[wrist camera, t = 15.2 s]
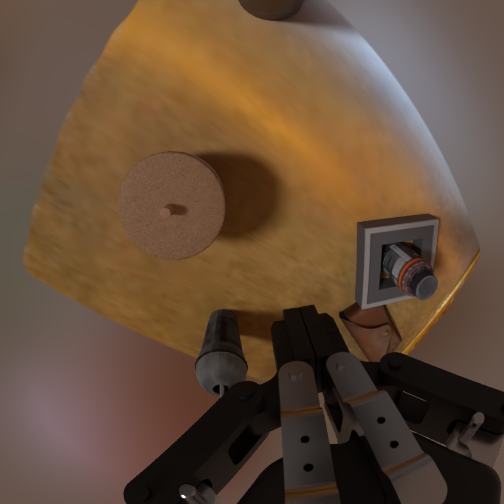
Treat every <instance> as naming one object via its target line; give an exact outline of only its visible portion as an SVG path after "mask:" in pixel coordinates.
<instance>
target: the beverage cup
mask: <svg viewBox="0 0 504 504" xmlns="http://www.w3.org/2000/svg"><path fill="white" fill-rule="evenodd" d="M195 370H196V376H197V379H198V381H199V383H200V385H201V386H202V387H203V388H204V389H205V390H206V391H207V392H209V393H211V394H213V395H216V396H220V398H221V397H222V396H223V395H224V394H225V393H226V392H227V390H228V389H229V388H230V387H231V386H233V385H234V384H236V383H238V382H242V381H245V379H246V374H247V370H248V366H247V362H246V360H245V357H244V354H243V352H242V346H241V340H240V335H239V329H238V324H237V321H236V316H235V315H234V313H232V312H231V311H229V310H225V309H221V310H217V311H215V312H213V313H212V314H211V316H210V320H209V322H208V325H207V329H206V333H205V337H204V341H203V345H202V349H201V352H200V354H199V356H198V359H197V361H196V363H195Z"/></svg>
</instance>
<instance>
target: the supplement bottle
mask: <svg viewBox="0 0 504 504" xmlns="http://www.w3.org/2000/svg"><path fill="white" fill-rule="evenodd" d="M381 269H382V270H383V271H384V272H385V274H387V276H388V277H389V278H390V279H391V280H392V281H393V282H394V283H395V284H396V285H397V286H398V287H399V288H400V289H401V290H402V292H403V293H405V294H406V295H408V296H411V297H417V298H418V299H420V300H426V299H428V298H430V297H431V296H432V295H433V294H434V292H435V291H436V289H437V285H438V281H437V278H436V277H435V276H434V275H433V269H432V266H431V265H430V264H429V263H428V262H427V261H426V260H425V259H423V258H422V257H421V256H420V255H418V254H417V253H416V252H414V251H413V250H412V249H410V248H409V247H408V246H407V245H405V244H403V243H402V242H397V243H391V244H388V245H387V246H386V247H385V248H384V249H383V250H382V253H381Z"/></svg>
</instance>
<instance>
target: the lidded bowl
mask: <svg viewBox="0 0 504 504" xmlns="http://www.w3.org/2000/svg"><path fill="white" fill-rule="evenodd" d="M118 211H119V217H120V220H121V223H122V226H123V228H124V230H125V232H126V234H127V235H128V236H129V238H130V239H131V240H132V241H133V243H134V244H135V245H136V246H138V247H139V248H140V249H141V250H143V251H145V252H146V253H148V254H150V255H152V256H155V257H158V258H162V259H168V260H180V259H185V258H189V257H192V256H195V255H197V254H199V253H200V252H202V251H204V250H205V249H206V248H207V247H209V246H210V245H211V244H212V243H213V241H214V240H215V239H216V237H217V236H218V234H219V233H220V231H221V228H222V226H223V223H224V219H225V213H226V198H225V194H224V189H223V185H222V183H221V180H220V178H219V177H218V175H217V173H216V172H215V171H214V169H213V168H212V167H211V166H210V165H209V164H208V163H207V162H205V161H204V160H202V159H201V158H199V157H197V156H195V155H192V154H189V153H185V152H174V151H168V152H161V153H157V154H153V155H151V156H149V157H147V158H144V159H143V160H141V161H140V162H139V163H137V164H136V165H135V166H134V167H133V168H132V169H131V170H130V171H129V173H128V174H127V176H126V177H125V179H124V181H123V183H122V185H121V189H120V192H119V198H118Z"/></svg>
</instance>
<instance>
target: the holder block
mask: <svg viewBox="0 0 504 504" xmlns="http://www.w3.org/2000/svg"><path fill="white" fill-rule="evenodd" d="M438 225H439V219H437V218H435V217H433V216H432V215H430V214H421V215H412V216H404V217H396V218H387V219H379V220H371V221H363V222H357V271H356V293H355V300H356V301H357V303H358V304H359V306H360V307H361V309H367V308H371V307H376V306H380V305H385V304H389V303H393V302H397V301H402V300H406V299H410V298H414V297H411V296H408V295H406V294H405V293H403V292H402V290H401V289H400V288H399V287H398V286H397V285H396V284H395V283H394V282H393V281H392V280H391V279H390V278H386V279H381V280H380V269H381V253H382V245H384V244H391V243H397V242H403V241H409V240H413V247H412V250H413V251H414V252H416V253H417V254H418V255H420V256H421V257H422V258H423V259H425V260H426V261H427V262H428V263H429V264H430V265H431V266H432V269H433V267H434V260H435V253H436V245H437V236H438Z"/></svg>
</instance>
